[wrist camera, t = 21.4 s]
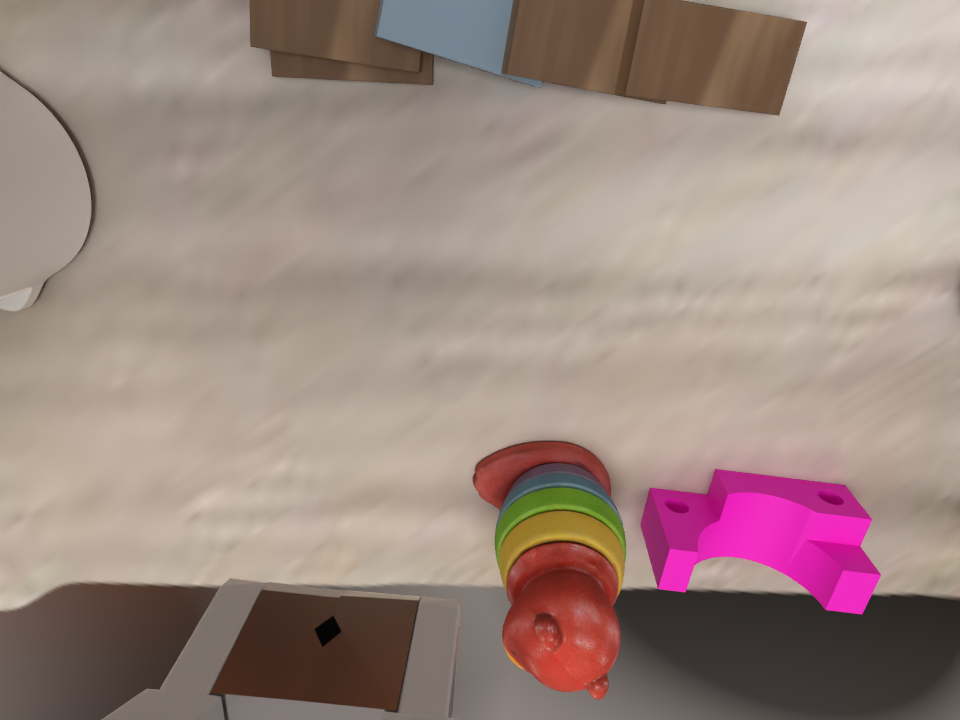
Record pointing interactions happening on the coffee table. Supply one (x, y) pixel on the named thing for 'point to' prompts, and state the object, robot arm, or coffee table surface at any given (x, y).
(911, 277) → the coffee table surface
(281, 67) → the domino
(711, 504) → the toy block
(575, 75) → the domino
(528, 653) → the stacking bear
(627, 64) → the domino
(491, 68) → the domino
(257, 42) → the domino
